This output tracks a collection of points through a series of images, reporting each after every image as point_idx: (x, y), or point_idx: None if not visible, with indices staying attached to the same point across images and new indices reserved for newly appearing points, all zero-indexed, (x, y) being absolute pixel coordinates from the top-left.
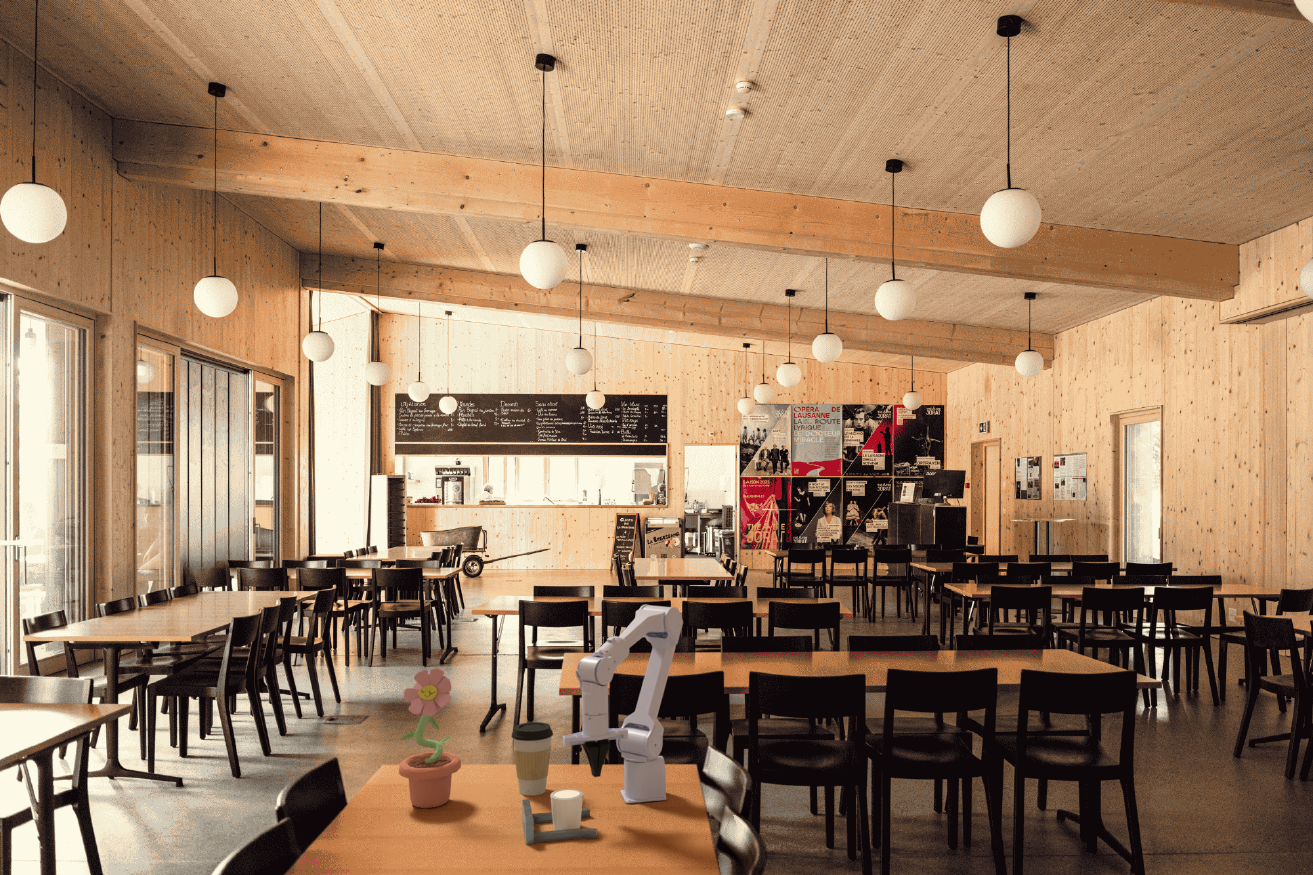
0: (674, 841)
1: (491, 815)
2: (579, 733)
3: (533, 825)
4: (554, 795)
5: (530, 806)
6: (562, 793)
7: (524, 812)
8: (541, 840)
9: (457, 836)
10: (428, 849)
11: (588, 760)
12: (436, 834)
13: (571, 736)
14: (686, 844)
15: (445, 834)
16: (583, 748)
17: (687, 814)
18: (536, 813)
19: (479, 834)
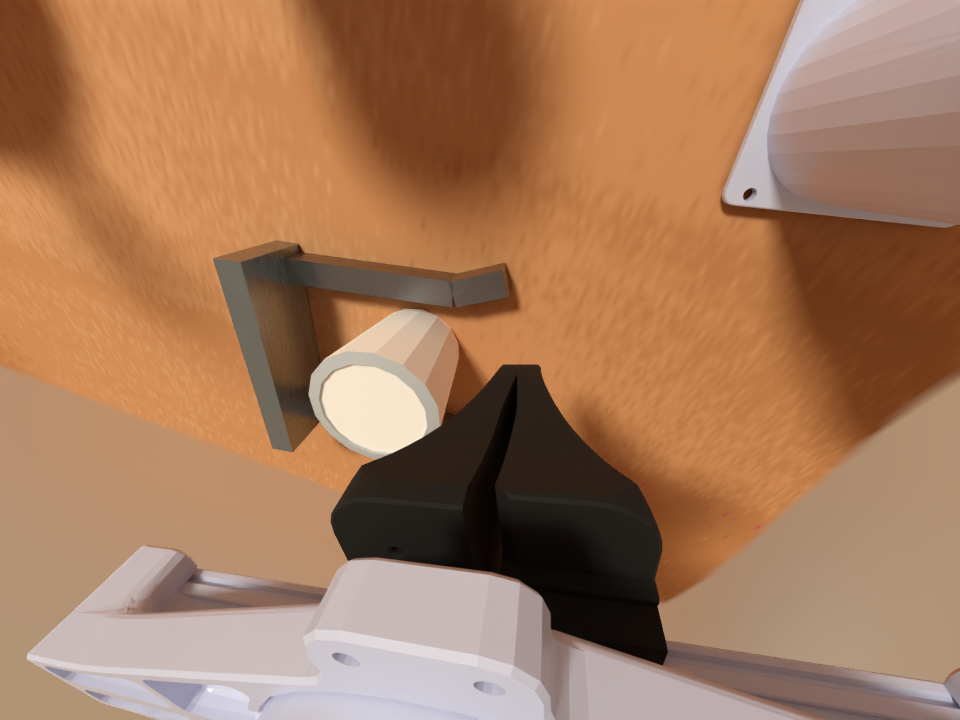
0: (665, 526)
1: (149, 134)
2: (223, 658)
3: (300, 443)
4: (325, 404)
5: (262, 344)
6: (356, 397)
7: (253, 384)
8: None
9: (121, 293)
10: (92, 346)
11: (466, 405)
12: (55, 256)
13: (150, 697)
14: (682, 546)
15: (80, 266)
16: (393, 453)
17: (864, 403)
18: (307, 262)
19: (175, 302)
